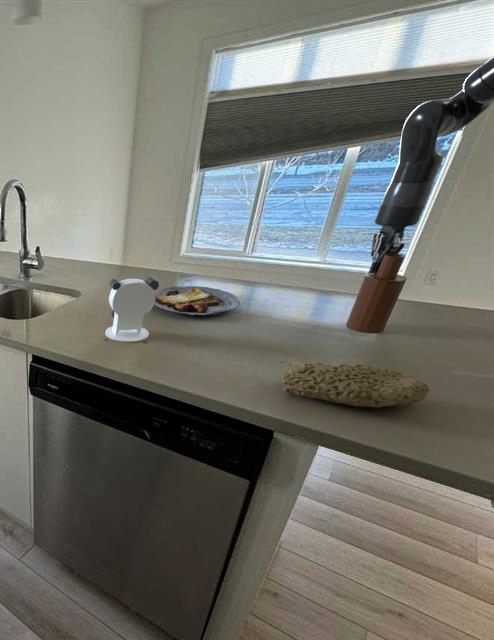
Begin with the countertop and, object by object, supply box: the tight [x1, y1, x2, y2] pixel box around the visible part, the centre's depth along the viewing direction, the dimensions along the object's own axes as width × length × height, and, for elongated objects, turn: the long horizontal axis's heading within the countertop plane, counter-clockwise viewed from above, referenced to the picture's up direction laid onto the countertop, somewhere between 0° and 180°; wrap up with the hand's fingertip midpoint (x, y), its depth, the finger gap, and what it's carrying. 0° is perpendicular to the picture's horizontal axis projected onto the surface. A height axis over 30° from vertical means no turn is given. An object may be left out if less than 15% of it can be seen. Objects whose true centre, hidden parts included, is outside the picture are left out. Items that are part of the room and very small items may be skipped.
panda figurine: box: [104, 276, 160, 343], centre depth 107 cm, size 12×11×15 cm
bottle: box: [345, 253, 408, 334], centre depth 97 cm, size 7×7×18 cm
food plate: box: [154, 285, 241, 317], centre depth 123 cm, size 25×23×4 cm
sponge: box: [281, 361, 430, 408], centre depth 75 cm, size 13×8×20 cm
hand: (373, 276), depth 102 cm, fingers closed
